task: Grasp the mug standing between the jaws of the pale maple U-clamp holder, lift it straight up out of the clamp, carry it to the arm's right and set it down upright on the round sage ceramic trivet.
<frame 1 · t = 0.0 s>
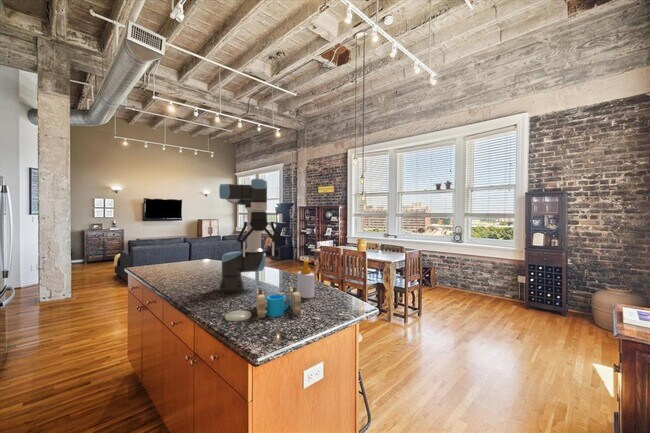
hand: (258, 256, 140), 28 cm above the counter, fingers open, 13 cm apart
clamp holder: (278, 312, 143), on the counter
mug: (278, 313, 143), on the counter
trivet: (238, 316, 137), on the counter
soap bottle: (305, 295, 172), on the counter
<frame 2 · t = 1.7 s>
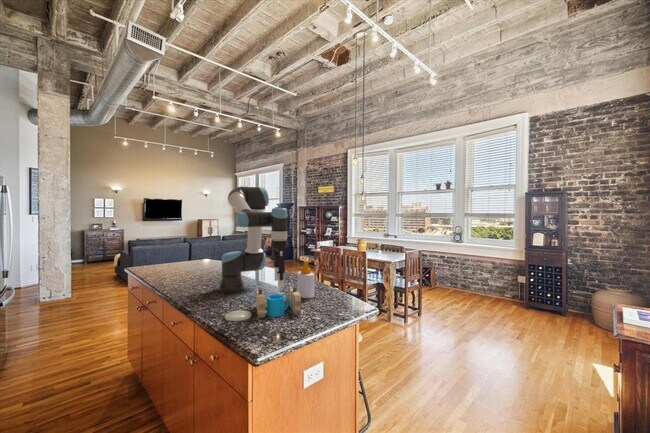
hand: (279, 283, 143), 14 cm above the counter, fingers open, 13 cm apart
nothing on the counter moved.
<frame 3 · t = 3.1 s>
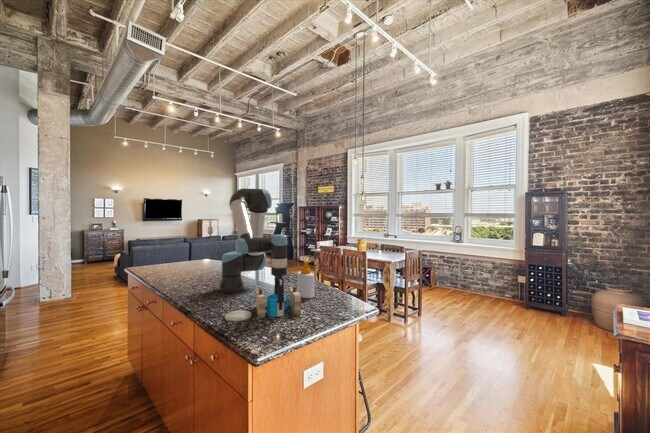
hand: (278, 312, 143), 0 cm above the counter, fingers open, 10 cm apart
mug: (278, 313, 143), on the counter, touching gripper
everything else where it was.
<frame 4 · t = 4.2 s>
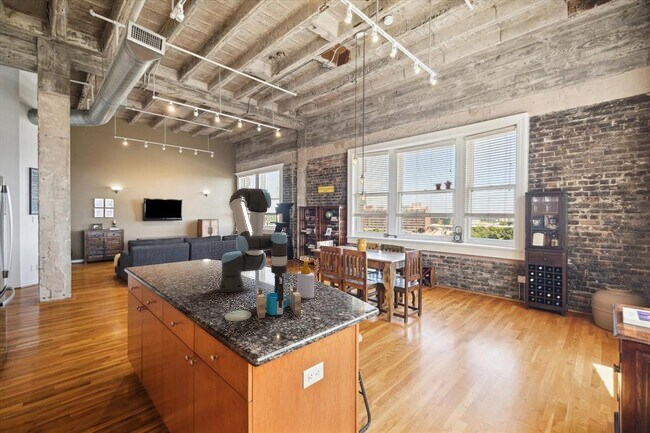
hand: (278, 310, 143), 1 cm above the counter, fingers closed on mug, 8 cm apart
mug: (278, 311, 144), on the counter, touching gripper
everything else where it was.
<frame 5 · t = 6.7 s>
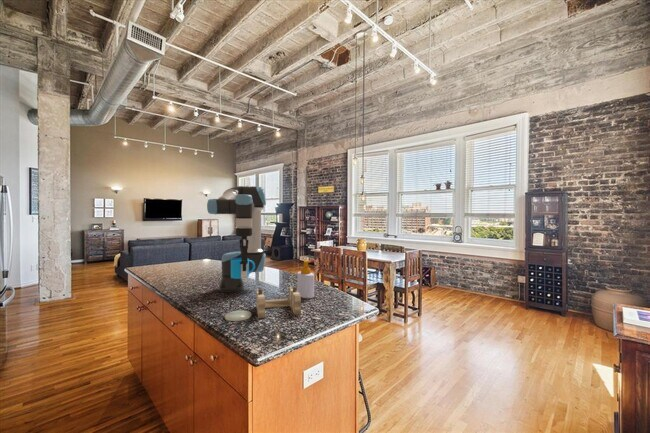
hand: (243, 275, 138), 19 cm above the counter, fingers closed on mug, 8 cm apart
mug: (243, 276, 139), point 19 cm above the counter, touching gripper
everything else where it was.
when the fingers open (2 cm above the counter, at t = 9.4 s): mug stays where it is, resting on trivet.
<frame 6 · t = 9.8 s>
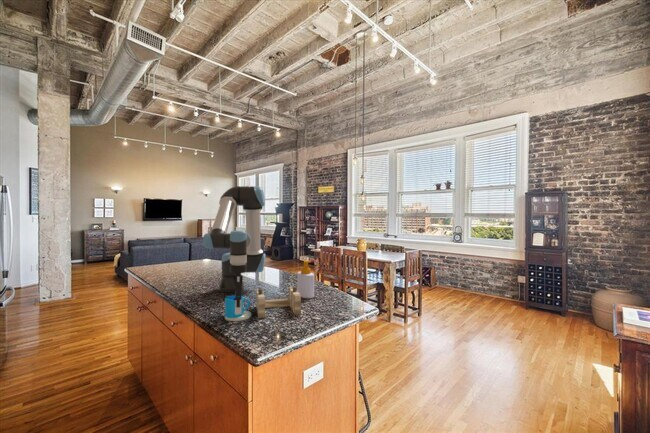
hand: (238, 309, 137), 3 cm above the counter, fingers open, 13 cm apart
mug: (238, 314, 138), point 1 cm above the counter, touching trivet
everything else where it was.
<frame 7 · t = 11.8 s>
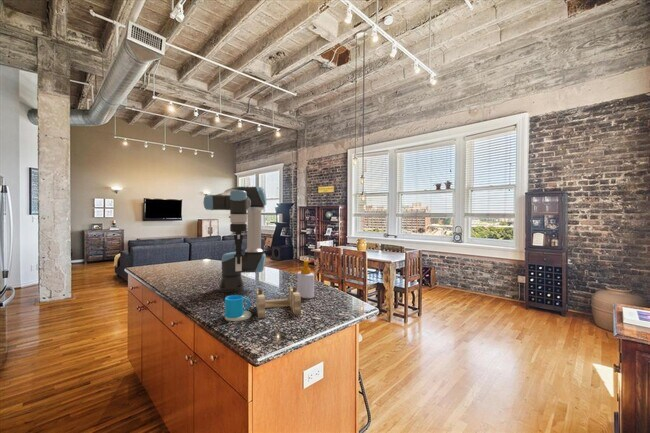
hand: (238, 268, 139), 22 cm above the counter, fingers open, 13 cm apart
nothing on the counter moved.
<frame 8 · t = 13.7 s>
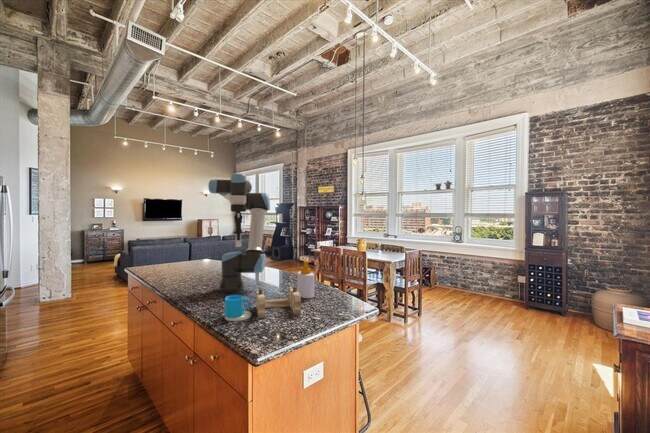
hand: (238, 245, 151), 32 cm above the counter, fingers open, 13 cm apart
nothing on the counter moved.
at the end: mug inside the target area on the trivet (1.1 cm from its centre), point 0.6 cm above the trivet's base; mug tilted 0°; the gripper is holding nothing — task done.
